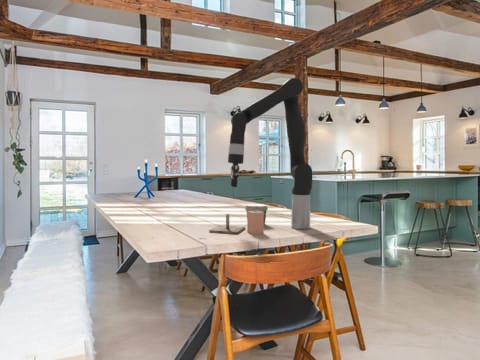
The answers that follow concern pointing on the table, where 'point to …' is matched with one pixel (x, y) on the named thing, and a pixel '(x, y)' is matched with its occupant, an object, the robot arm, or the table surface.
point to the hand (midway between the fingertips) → (233, 186)
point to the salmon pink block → (255, 222)
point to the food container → (262, 209)
